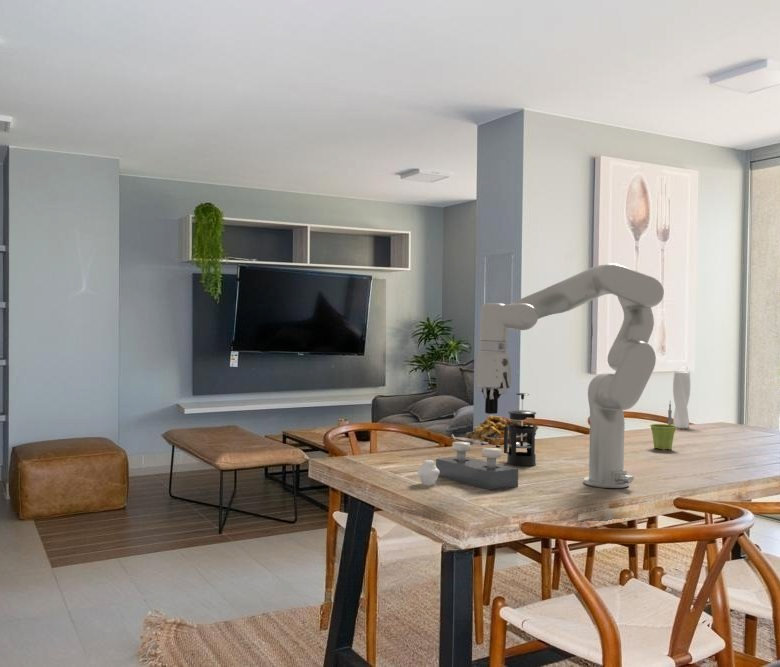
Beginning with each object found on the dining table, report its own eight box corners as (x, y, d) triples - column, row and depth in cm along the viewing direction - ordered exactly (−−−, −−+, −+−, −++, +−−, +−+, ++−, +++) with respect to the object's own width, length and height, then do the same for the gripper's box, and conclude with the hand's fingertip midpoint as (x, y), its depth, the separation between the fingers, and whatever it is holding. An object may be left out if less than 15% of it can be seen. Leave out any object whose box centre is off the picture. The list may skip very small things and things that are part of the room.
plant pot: (680, 451, 282) (680, 427, 282) (654, 450, 282) (654, 427, 282) (671, 447, 291) (671, 424, 291) (646, 446, 291) (646, 423, 291)
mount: (518, 486, 213) (518, 468, 213) (491, 490, 208) (491, 472, 208) (461, 472, 233) (461, 455, 233) (435, 475, 227) (435, 458, 227)
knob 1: (473, 464, 225) (474, 443, 225) (459, 466, 222) (460, 444, 222) (462, 462, 229) (462, 441, 229) (448, 463, 226) (448, 442, 226)
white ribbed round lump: (412, 484, 214) (413, 459, 214) (427, 481, 219) (428, 456, 219) (429, 487, 210) (429, 462, 210) (444, 484, 214) (444, 459, 214)
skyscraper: (676, 427, 351) (677, 366, 351) (693, 429, 345) (694, 366, 345) (666, 428, 346) (667, 366, 346) (683, 430, 340) (684, 367, 340)
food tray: (509, 435, 321) (510, 409, 321) (559, 443, 302) (559, 415, 302) (449, 442, 299) (449, 415, 299) (498, 451, 279) (499, 421, 279)
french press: (543, 464, 248) (544, 393, 248) (526, 468, 242) (528, 395, 241) (513, 460, 257) (514, 391, 256) (496, 463, 250) (497, 392, 250)
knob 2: (504, 472, 214) (505, 449, 214) (490, 473, 211) (491, 451, 211) (491, 469, 219) (492, 447, 218) (478, 470, 216) (478, 448, 215)
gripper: (522, 348, 211) (520, 415, 211) (485, 346, 223) (483, 410, 223) (501, 348, 206) (499, 416, 206) (465, 346, 219) (463, 411, 219)
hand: (491, 413), depth 215 cm, fingers closed
